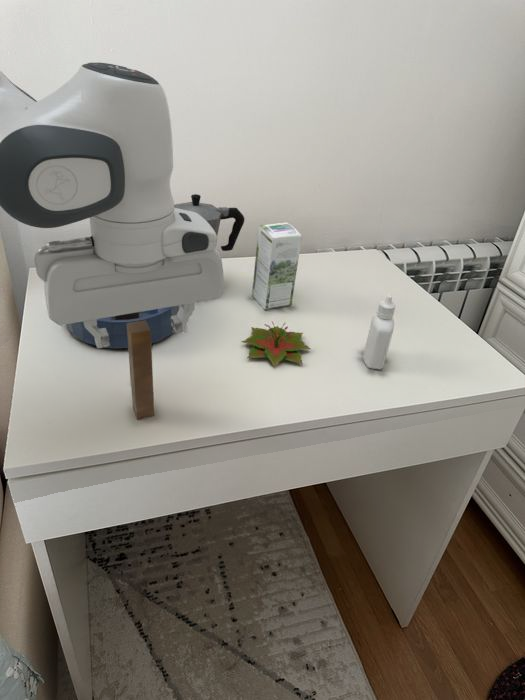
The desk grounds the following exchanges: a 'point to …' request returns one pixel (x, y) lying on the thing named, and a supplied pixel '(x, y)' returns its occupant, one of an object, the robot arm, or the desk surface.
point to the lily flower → (276, 344)
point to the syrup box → (276, 265)
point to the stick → (141, 368)
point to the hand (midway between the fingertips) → (141, 337)
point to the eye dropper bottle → (379, 335)
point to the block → (127, 316)
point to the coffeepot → (216, 217)
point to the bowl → (118, 328)
